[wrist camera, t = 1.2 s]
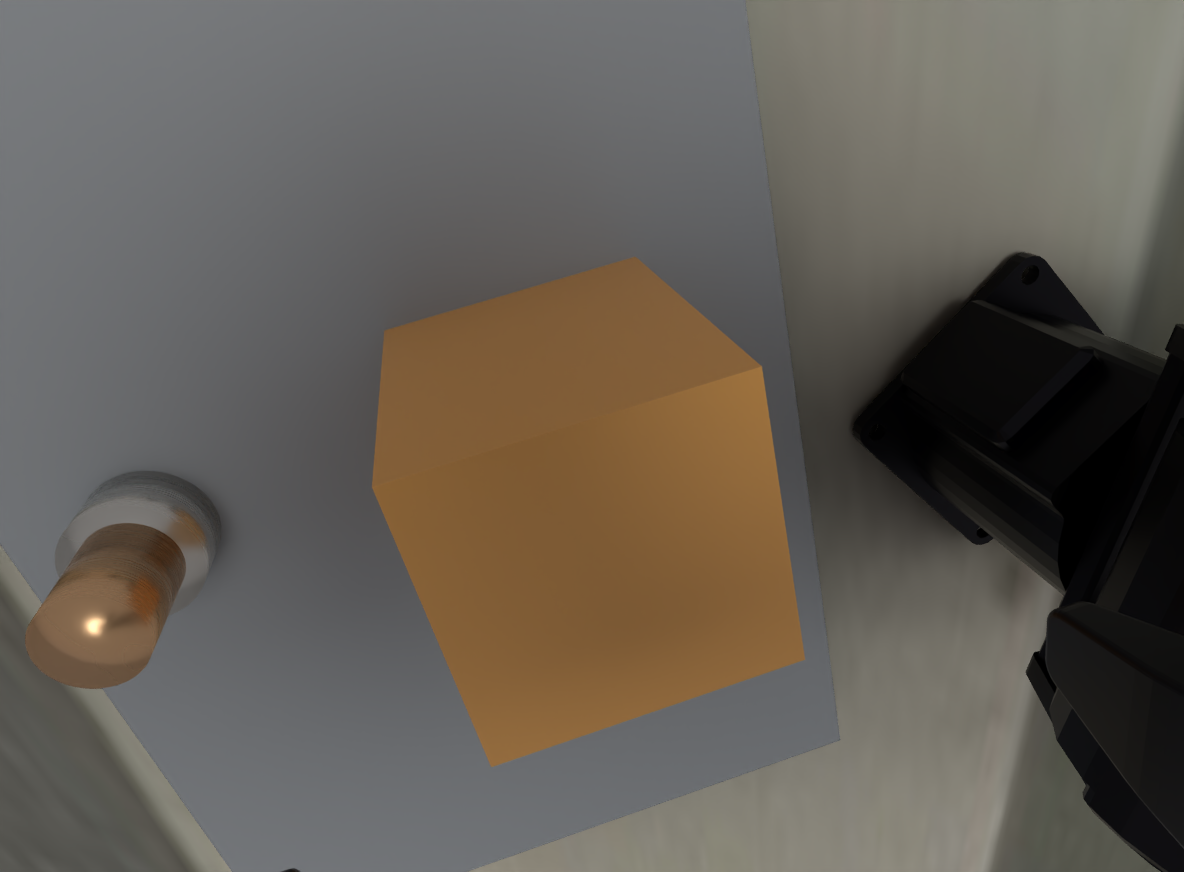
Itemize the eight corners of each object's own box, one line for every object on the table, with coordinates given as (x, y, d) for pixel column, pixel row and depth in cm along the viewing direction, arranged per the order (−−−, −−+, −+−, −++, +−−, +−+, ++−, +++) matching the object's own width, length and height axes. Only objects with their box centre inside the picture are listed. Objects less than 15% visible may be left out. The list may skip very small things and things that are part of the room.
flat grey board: (818, 705, 27) (840, 740, 25) (285, 891, 25) (279, 937, 24) (695, -161, 16) (722, -181, 14) (-259, 79, 14) (-328, 81, 13)
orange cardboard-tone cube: (681, 473, 20) (805, 659, 14) (464, 542, 20) (491, 767, 13) (635, 256, 17) (762, 366, 11) (384, 330, 17) (371, 487, 11)
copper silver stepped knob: (247, 513, 18) (207, 624, 15) (178, 600, 19) (124, 727, 15) (124, 447, 17) (50, 550, 13) (55, 542, 17) (-34, 665, 14)
